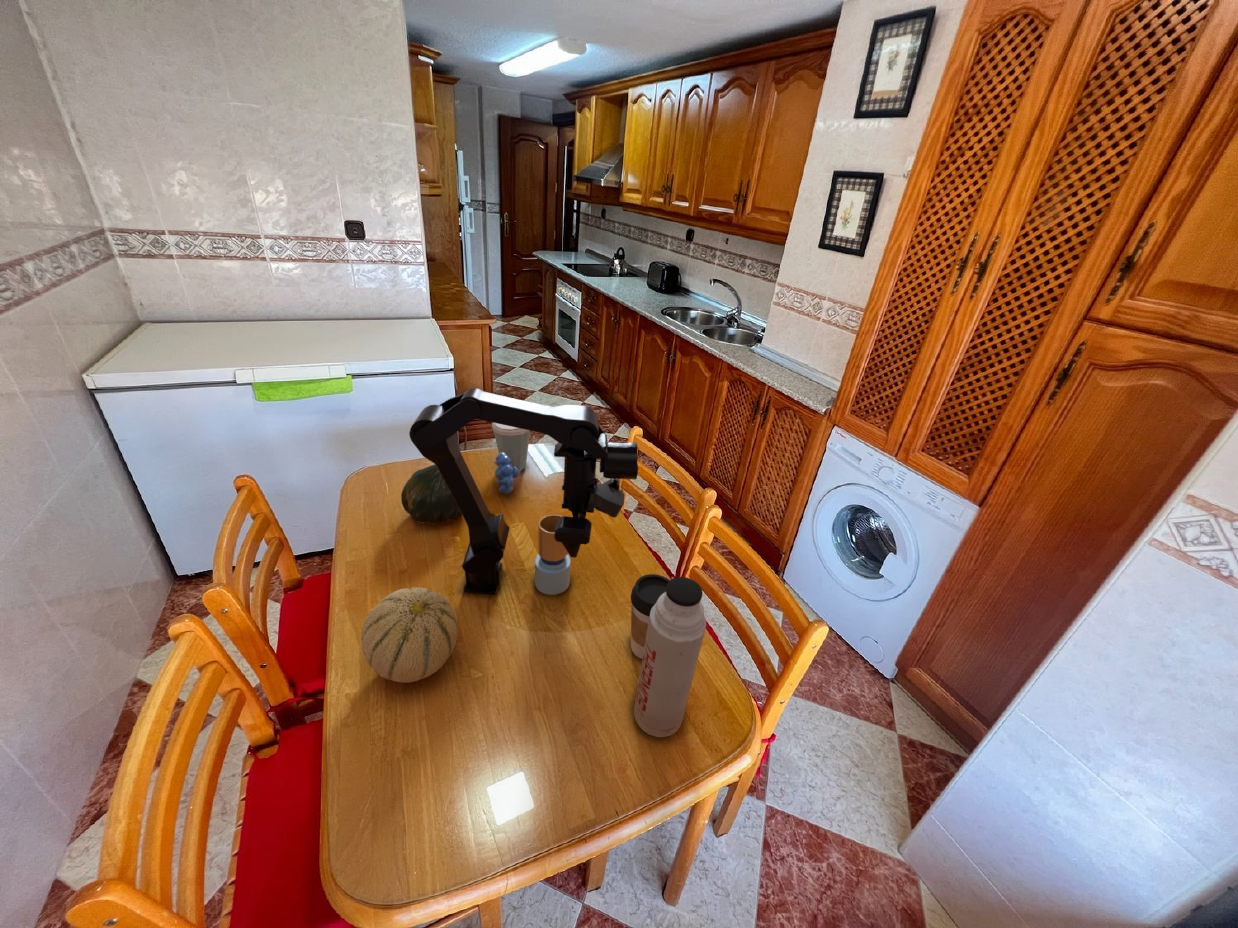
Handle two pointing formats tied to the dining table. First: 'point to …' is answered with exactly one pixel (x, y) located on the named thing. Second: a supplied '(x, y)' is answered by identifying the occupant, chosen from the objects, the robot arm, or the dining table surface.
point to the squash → (429, 497)
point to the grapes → (505, 473)
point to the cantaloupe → (409, 634)
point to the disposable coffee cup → (512, 443)
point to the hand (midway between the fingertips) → (576, 541)
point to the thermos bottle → (670, 657)
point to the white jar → (552, 575)
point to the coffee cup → (644, 608)
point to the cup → (549, 539)
